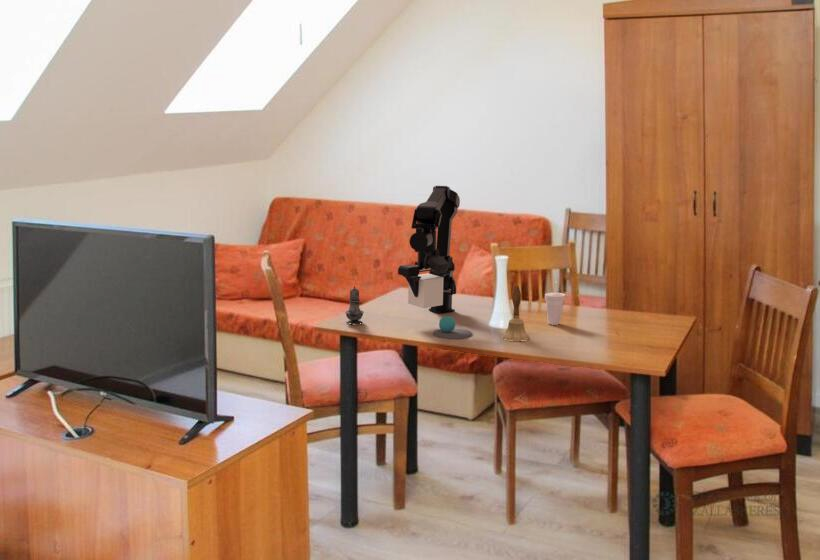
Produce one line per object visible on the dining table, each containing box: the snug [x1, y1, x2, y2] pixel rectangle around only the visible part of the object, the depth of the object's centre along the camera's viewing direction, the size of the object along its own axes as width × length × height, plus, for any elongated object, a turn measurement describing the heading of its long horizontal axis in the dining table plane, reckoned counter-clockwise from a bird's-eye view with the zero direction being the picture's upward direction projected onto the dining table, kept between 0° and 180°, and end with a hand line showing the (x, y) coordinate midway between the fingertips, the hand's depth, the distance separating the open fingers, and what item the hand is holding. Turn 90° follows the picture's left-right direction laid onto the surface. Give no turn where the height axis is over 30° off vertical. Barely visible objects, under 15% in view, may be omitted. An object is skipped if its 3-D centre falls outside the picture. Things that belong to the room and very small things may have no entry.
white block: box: [407, 273, 443, 309], centre depth 304 cm, size 8×8×9 cm
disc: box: [432, 327, 474, 340], centre depth 296 cm, size 12×12×1 cm
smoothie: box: [544, 280, 566, 326], centre depth 308 cm, size 6×6×14 cm
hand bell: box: [501, 285, 530, 342], centre depth 291 cm, size 8×8×16 cm
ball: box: [438, 315, 456, 333], centre depth 298 cm, size 5×5×5 cm
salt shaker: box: [344, 285, 365, 325], centre depth 307 cm, size 6×6×12 cm
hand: (426, 295), depth 304 cm, fingers closed on white block, 8 cm apart
